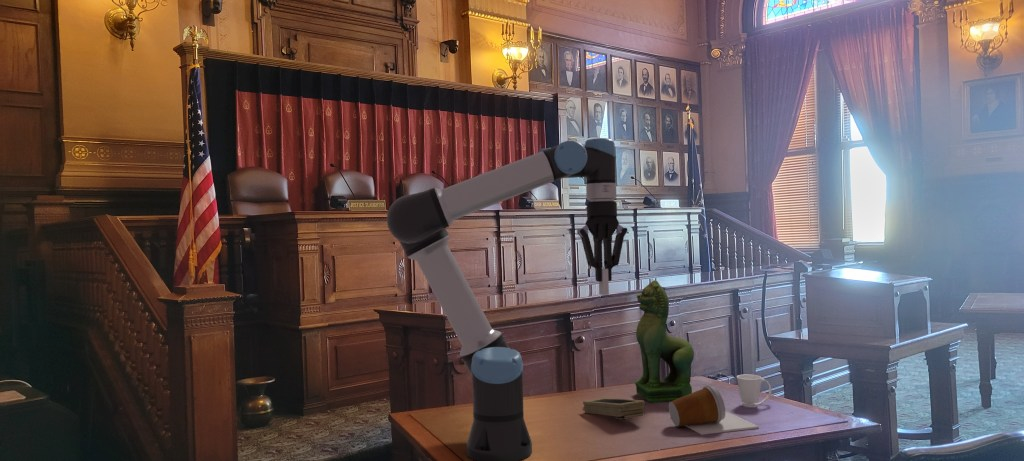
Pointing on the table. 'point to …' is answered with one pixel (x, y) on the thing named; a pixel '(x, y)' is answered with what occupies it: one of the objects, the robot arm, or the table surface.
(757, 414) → the table surface
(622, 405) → the box
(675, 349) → the lion statue
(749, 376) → the cup
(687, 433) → the table surface
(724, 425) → the felt mat
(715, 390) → the disposable coffee cup
